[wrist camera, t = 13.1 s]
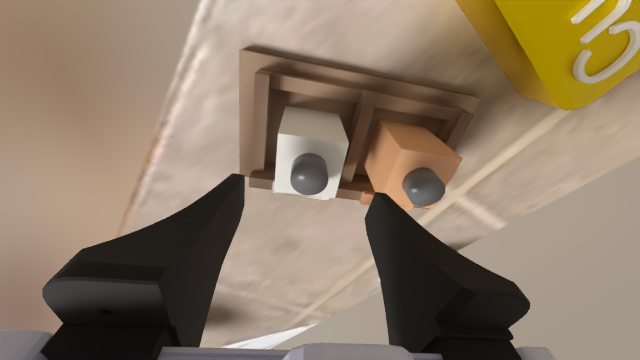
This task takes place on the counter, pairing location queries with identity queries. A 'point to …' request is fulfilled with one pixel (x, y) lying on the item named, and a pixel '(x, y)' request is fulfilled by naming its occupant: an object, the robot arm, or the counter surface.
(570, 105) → the element tile
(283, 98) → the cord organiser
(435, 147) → the orange plug
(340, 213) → the counter surface
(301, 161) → the grey plug
